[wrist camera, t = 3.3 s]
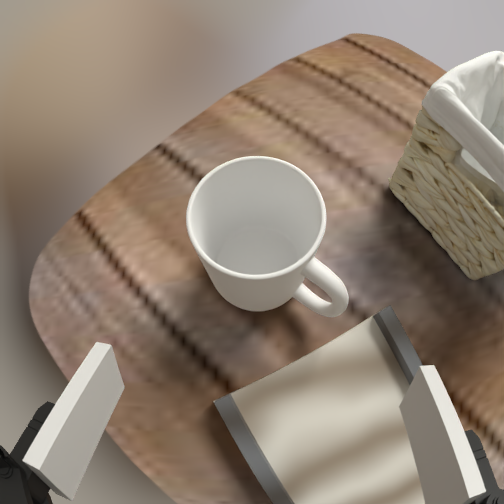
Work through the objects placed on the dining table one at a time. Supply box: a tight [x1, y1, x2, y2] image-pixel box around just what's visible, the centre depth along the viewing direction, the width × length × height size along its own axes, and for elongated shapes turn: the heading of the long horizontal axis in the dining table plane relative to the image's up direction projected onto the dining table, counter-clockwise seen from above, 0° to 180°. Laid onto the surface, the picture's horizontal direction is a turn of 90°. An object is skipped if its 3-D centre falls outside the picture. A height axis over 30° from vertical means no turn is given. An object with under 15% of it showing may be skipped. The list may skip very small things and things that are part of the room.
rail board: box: [213, 306, 425, 504], centre depth 20 cm, size 20×16×3 cm
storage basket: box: [388, 51, 504, 280], centre depth 24 cm, size 24×16×15 cm
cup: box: [186, 156, 349, 317], centre depth 22 cm, size 8×12×10 cm
